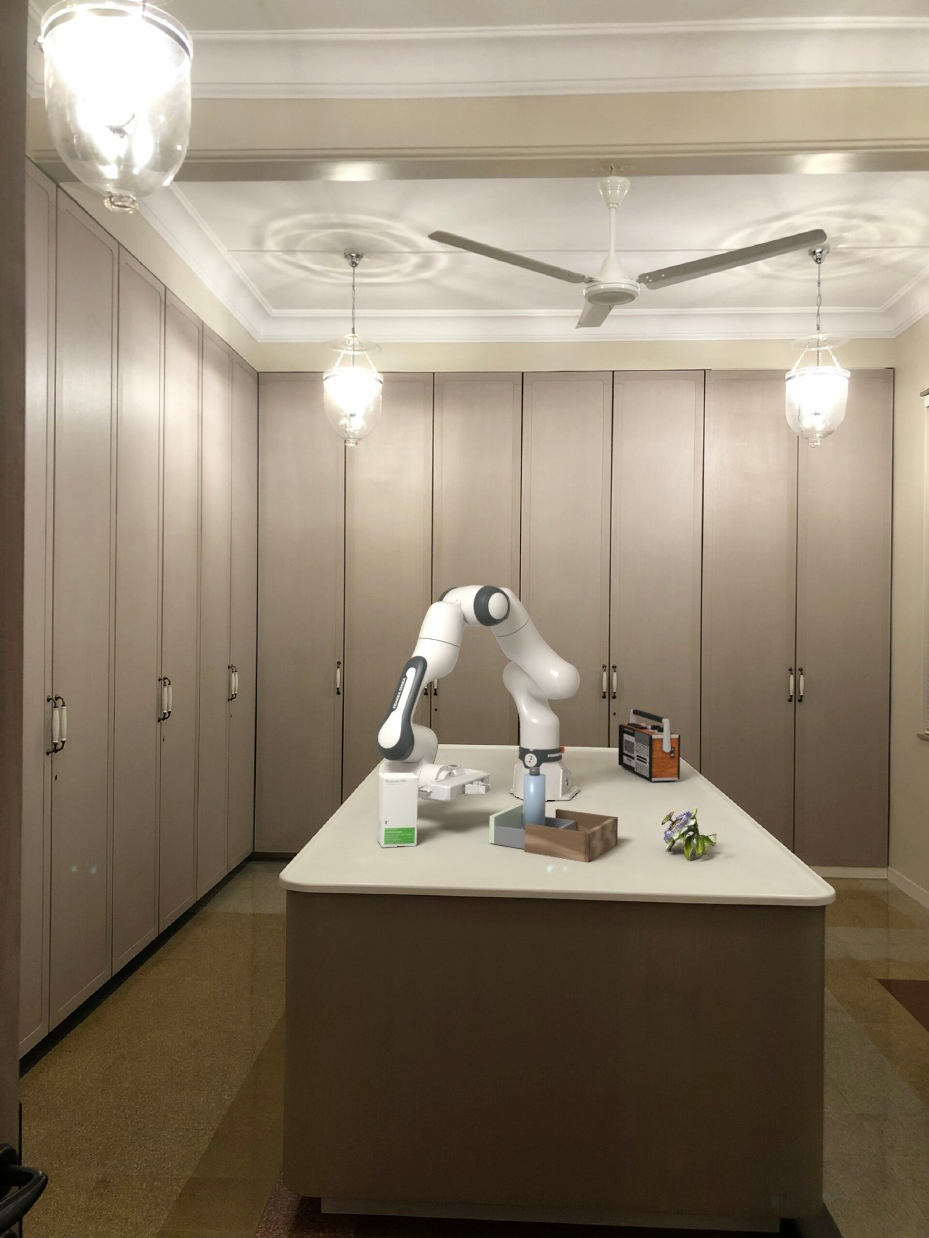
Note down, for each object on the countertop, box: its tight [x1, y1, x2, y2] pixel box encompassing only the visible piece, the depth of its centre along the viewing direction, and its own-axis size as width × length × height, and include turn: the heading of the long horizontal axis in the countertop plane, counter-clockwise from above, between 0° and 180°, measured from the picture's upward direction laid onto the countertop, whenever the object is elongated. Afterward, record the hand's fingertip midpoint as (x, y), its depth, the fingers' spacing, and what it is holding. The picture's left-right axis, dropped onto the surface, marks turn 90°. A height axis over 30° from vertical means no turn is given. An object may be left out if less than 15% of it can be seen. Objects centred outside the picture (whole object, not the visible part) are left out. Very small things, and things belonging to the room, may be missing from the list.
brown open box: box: [523, 808, 619, 863], centre depth 192 cm, size 17×15×6 cm
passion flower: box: [661, 808, 718, 862], centre depth 188 cm, size 11×11×12 cm
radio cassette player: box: [617, 708, 681, 783], centre depth 279 cm, size 29×10×20 cm, turn 11°
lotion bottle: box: [522, 767, 546, 830], centre depth 196 cm, size 5×5×16 cm
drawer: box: [488, 803, 577, 850], centre depth 196 cm, size 15×15×6 cm
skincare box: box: [376, 772, 419, 848], centre depth 194 cm, size 8×7×16 cm
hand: (487, 789), depth 202 cm, fingers closed
